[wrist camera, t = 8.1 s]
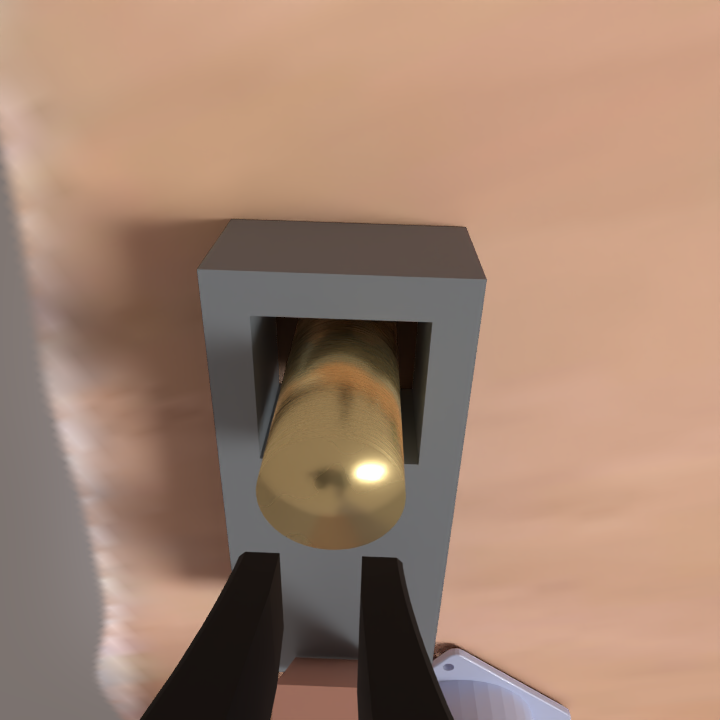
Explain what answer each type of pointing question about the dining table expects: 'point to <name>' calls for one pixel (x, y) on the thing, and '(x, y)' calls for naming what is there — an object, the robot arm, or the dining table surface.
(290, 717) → the bar
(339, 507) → the brass pin
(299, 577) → the block
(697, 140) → the dining table surface
